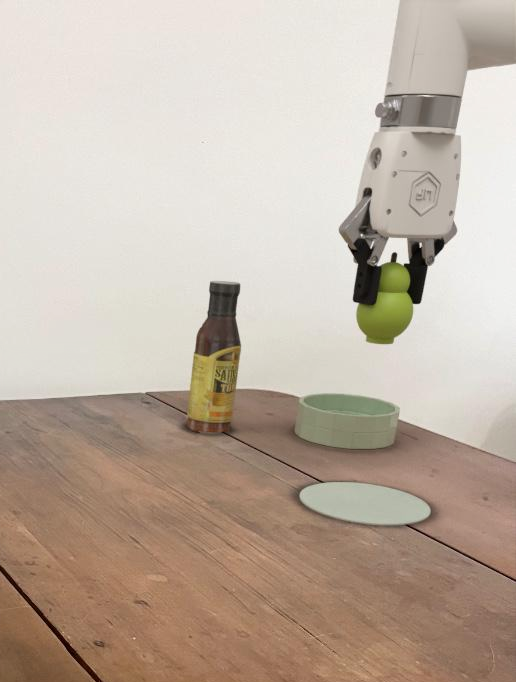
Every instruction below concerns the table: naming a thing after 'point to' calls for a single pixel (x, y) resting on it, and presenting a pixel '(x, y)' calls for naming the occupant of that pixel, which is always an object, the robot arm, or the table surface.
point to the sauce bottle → (215, 362)
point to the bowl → (346, 421)
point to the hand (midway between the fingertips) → (386, 301)
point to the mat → (364, 503)
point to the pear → (387, 306)
